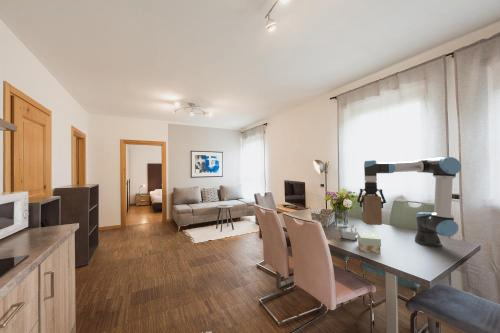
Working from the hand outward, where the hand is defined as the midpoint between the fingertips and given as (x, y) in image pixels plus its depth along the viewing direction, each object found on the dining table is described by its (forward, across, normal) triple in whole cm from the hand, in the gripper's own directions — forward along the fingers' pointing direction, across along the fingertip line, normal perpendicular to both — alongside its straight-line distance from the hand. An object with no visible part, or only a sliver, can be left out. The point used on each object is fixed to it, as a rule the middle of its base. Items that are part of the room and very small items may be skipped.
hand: (371, 212), depth 146 cm
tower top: (+22, +2, 0) cm, 22 cm away
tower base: (+27, +2, 0) cm, 27 cm away
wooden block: (+8, 0, 0) cm, 8 cm away
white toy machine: (+27, +11, -25) cm, 39 cm away
